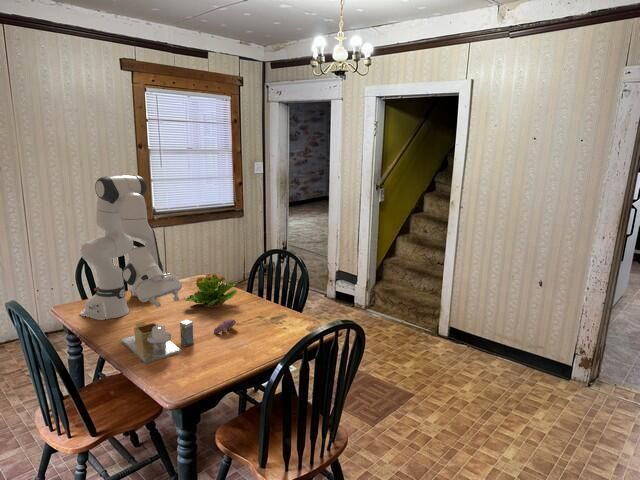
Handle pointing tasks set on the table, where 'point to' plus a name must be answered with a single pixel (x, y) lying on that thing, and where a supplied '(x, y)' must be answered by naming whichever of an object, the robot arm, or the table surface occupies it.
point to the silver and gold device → (150, 342)
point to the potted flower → (212, 291)
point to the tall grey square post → (186, 332)
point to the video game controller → (225, 326)
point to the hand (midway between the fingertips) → (168, 303)
